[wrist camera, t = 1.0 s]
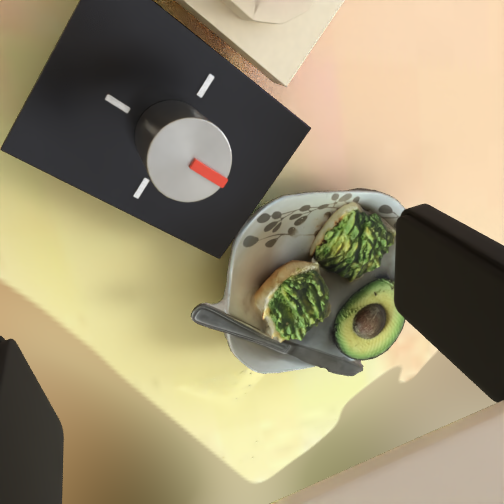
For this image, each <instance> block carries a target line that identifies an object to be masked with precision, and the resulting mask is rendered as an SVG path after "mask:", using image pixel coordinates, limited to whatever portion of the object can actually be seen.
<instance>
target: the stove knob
mask: <svg viewBox="0 0 504 504" xmlns="http://www.w3.org/2000/svg"><path fill="white" fill-rule="evenodd" d="M135 144H136V148H137V151H138V153H139V155H140V157H141V160H142V162H143V164H144V166H145V168H146V170H147V173H148V175H149V177H150V179H151V181H152V183H153V184H154V186H155V187H156V188H157V189H158V190H159V191H160V192H161V193H162V194H163V195H165V196H167V197H168V198H170V199H173V200H176V201H180V202H196V201H200V200H203V199H205V198H208V197H209V196H211V195H213V194H214V193H215V192H217V191H218V190H219V189H220V188H223V187H224V186H225V184H226V183H227V181H228V179H227V177H228V175H229V172H230V169H231V164H232V152H231V148H230V144H229V142H228V140H227V138H226V136H225V135H224V133H223V132H222V131H221V130H220V129H219V128H218V127H217V126H216V125H214V124H213V123H212V122H211V121H210V120H208V119H207V118H206V117H205V116H203V115H202V114H201V113H200V112H198V111H197V110H196V109H195V108H193V107H192V106H190V105H189V104H187V103H184V102H181V101H176V100H166V101H162V102H158V103H156V104H154V105H152V106H151V107H149V108H148V109H147V110H146V111H145V112H144V113H143V114H142V116H141V117H140V119H139V121H138V123H137V126H136V130H135Z"/></svg>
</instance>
